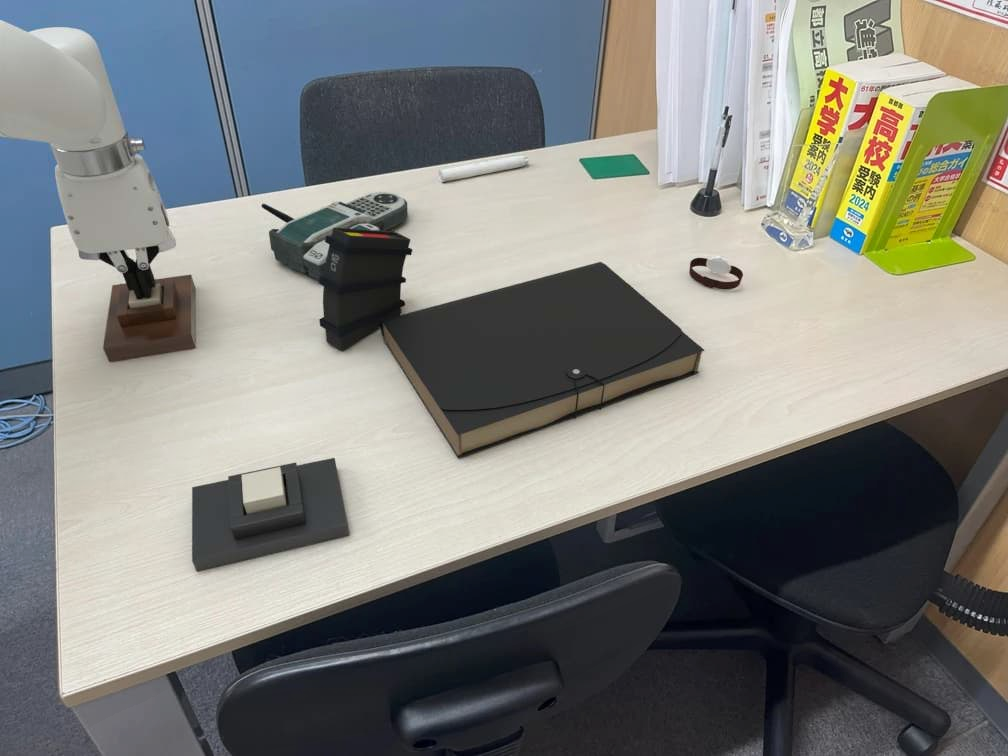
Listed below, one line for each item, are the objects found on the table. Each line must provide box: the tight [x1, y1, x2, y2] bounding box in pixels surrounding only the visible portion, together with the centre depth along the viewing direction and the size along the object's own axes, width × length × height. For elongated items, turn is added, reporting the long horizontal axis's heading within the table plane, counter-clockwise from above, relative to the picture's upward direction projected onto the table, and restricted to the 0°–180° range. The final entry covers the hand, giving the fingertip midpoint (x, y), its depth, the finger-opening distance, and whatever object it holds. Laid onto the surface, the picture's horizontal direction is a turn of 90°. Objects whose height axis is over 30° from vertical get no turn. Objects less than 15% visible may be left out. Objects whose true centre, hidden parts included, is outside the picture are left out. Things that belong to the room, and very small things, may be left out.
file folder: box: [379, 261, 706, 459], centre depth 89 cm, size 33×4×24 cm
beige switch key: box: [128, 284, 163, 309], centre depth 90 cm, size 4×4×2 cm
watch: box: [688, 255, 744, 291], centre depth 103 cm, size 8×5×4 cm, turn 63°
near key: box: [242, 467, 287, 515], centre depth 68 cm, size 4×4×2 cm
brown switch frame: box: [102, 274, 197, 363], centre depth 92 cm, size 14×10×4 cm
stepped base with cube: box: [191, 457, 350, 572], centre depth 69 cm, size 14×9×4 cm, turn 108°
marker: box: [438, 155, 531, 183], centre depth 129 cm, size 18×2×2 cm, turn 117°
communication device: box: [261, 191, 408, 281], centre depth 107 cm, size 12×24×9 cm, turn 146°
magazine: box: [318, 227, 413, 351], centre depth 90 cm, size 4×13×15 cm, turn 141°
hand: (144, 292), depth 90 cm, fingers closed
